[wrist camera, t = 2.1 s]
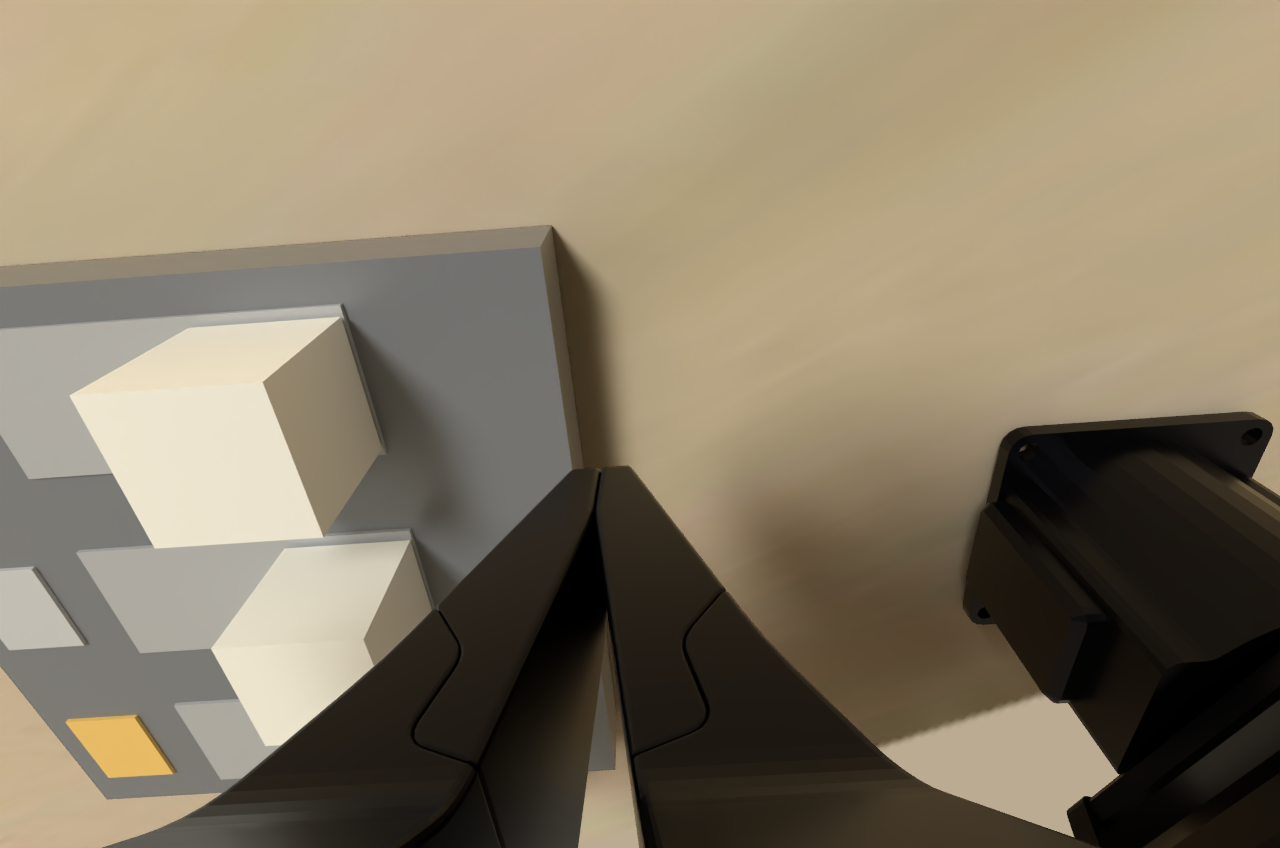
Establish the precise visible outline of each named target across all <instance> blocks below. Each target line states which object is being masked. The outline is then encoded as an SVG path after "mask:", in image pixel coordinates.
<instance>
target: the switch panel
mask: <svg viewBox="0 0 1280 848" xmlns="http://www.w3.org/2000/svg"><path fill="white" fill-rule="evenodd" d="M330 317H341V318H342V321H343V325H344V328H345V331H346V334H347V338H348V341H349V344H350V347H351V350H352V354H353V357H354V360H355V363H356V367H357V370H358V373H359V376H360V380H361V383H362V386H363V389H364V392H365V396H366V399H367V402H368V405H369V409H370V412H371V415H372V418H373V422H374V425H375V428H376V431H377V434H378V438H379V441H380V444H381V447H382V450H381V452H380V453H379V455H378V456H377V458H376V459H375V461H374V462H373V464H372V465H371V467H370V468H369V470H368V471H367V473H366V474H365V476H364V477H363V479H362V480H361V482H360V483H359V485H358V486H357V488H356V489H355V491H354V492H353V494H352V495H351V497H350V498H349V500H348V501H347V503H346V504H345V506H344V507H343V509H342V510H341V512H340V513H339V515H338V516H337V518H336V519H335V521H334V523H333V524H332V526H331V527H330V529H329V530H328V532H327V533H326V535H325V536H324V538H309V539H294V540H279V541H264V542H249V543H234V544H219V545H204V546H188V547H173V548H158V549H155V548H154V546H153V544H152V543H151V541H150V539H149V537H148V536H147V534H146V532H145V530H144V528H143V527H142V525H141V523H140V521H139V519H138V518H137V516H136V514H135V512H134V511H133V509H132V507H131V505H130V503H129V502H128V500H127V498H126V496H125V494H124V493H123V491H122V489H121V487H120V486H119V484H118V482H117V480H116V478H115V477H114V475H113V473H112V471H111V469H110V468H109V466H108V464H107V462H106V461H105V459H104V457H103V455H102V453H101V452H100V450H99V448H98V446H97V444H96V443H95V441H94V439H93V437H92V436H91V434H90V432H89V430H88V428H87V427H86V425H85V423H84V421H83V419H82V418H81V416H80V414H79V412H78V411H77V409H76V407H75V405H74V403H73V402H72V400H71V398H70V395H71V394H73V393H75V392H77V391H78V390H80V389H82V388H84V387H85V386H87V385H89V384H91V383H92V382H94V381H96V380H98V379H99V378H101V377H103V376H105V375H107V374H108V373H110V372H112V371H114V370H115V369H117V368H119V367H121V366H122V365H124V364H126V363H128V362H129V361H131V360H133V359H135V358H136V357H138V356H140V355H142V354H144V353H145V352H147V351H149V350H151V349H152V348H154V347H156V346H158V345H159V344H161V343H163V342H165V341H166V340H168V339H170V338H172V337H173V336H175V335H177V334H179V333H180V332H182V331H184V330H186V329H188V328H193V327H207V326H221V325H234V324H248V323H262V322H276V321H289V320H303V319H317V318H330ZM582 468H584V465H583V458H582V450H581V443H580V435H579V428H578V420H577V413H576V405H575V398H574V390H573V383H572V375H571V368H570V360H569V353H568V345H567V338H566V330H565V323H564V315H563V308H562V300H561V293H560V285H559V278H558V270H557V263H556V255H555V248H554V240H553V233H552V225H547V226H534V227H520V228H507V229H494V230H481V231H467V232H454V233H441V234H427V235H414V236H401V237H388V238H374V239H361V240H348V241H334V242H321V243H308V244H295V245H281V246H268V247H255V248H241V249H228V250H215V251H202V252H188V253H175V254H162V255H148V256H135V257H122V258H109V259H95V260H82V261H69V262H55V263H42V264H29V265H16V266H2V267H0V666H1V668H2V669H3V670H4V671H5V673H6V674H7V675H8V676H9V678H10V679H11V680H12V681H13V683H14V684H15V685H16V686H17V688H18V689H19V690H20V691H21V693H22V694H23V695H24V696H25V698H26V699H27V700H28V701H29V703H30V704H31V705H32V706H33V708H34V709H35V710H36V711H37V713H38V714H39V715H40V716H41V718H42V719H43V720H44V721H45V723H46V724H47V725H48V726H49V728H50V729H51V730H52V731H53V733H54V734H55V735H56V736H57V738H58V739H59V740H60V741H61V743H62V744H63V745H64V746H65V748H66V749H67V750H68V751H69V753H70V754H71V755H72V756H73V758H74V759H75V760H76V761H77V763H78V764H79V765H80V766H81V768H82V769H83V770H84V771H85V773H86V774H87V775H88V776H89V778H90V779H91V780H92V781H93V783H94V784H95V785H96V786H97V788H98V789H99V790H100V791H101V793H102V794H103V795H104V796H105V798H106V799H122V798H139V797H156V796H173V795H191V794H208V793H224V792H225V791H226V790H227V789H229V788H230V787H231V786H232V785H234V784H235V783H236V782H238V781H239V780H240V779H241V778H243V777H244V776H245V775H246V774H248V773H249V772H250V771H251V770H252V769H253V768H255V767H256V766H257V765H258V764H259V763H261V762H262V761H263V760H264V759H265V758H267V757H268V756H269V755H270V754H271V753H272V752H274V751H275V750H276V749H277V748H278V747H280V746H281V745H277V746H265V745H264V743H263V741H262V739H261V737H260V736H259V734H258V732H257V730H256V728H255V727H254V725H253V723H252V721H251V720H250V718H249V716H248V714H247V712H246V711H245V709H244V707H243V705H242V703H241V702H240V700H239V698H238V696H237V694H236V693H235V691H234V689H233V687H232V686H231V684H230V682H229V680H228V678H227V677H226V675H225V673H224V671H223V669H222V668H221V666H220V664H219V662H218V661H217V659H216V657H215V655H214V653H213V652H212V650H211V648H212V647H213V646H214V644H215V643H216V641H217V640H218V639H219V637H220V636H221V635H222V633H223V632H224V630H225V629H226V628H227V626H228V625H229V624H230V622H231V621H232V620H233V618H234V617H235V615H236V614H237V613H238V611H239V610H240V609H241V607H242V606H243V604H244V603H245V602H246V600H247V599H248V598H249V596H250V595H251V594H252V592H253V591H254V589H255V588H256V587H257V585H258V584H259V583H260V581H261V580H262V578H263V577H264V576H265V574H266V573H267V572H268V570H269V569H270V568H271V566H272V565H273V563H274V562H275V561H276V559H277V558H278V557H279V555H280V554H281V552H282V551H283V550H284V548H299V547H314V546H329V545H345V544H360V543H375V542H390V541H405V540H410V541H411V544H412V548H413V551H414V554H415V557H416V560H417V564H418V567H419V570H420V573H421V577H422V580H423V583H424V586H425V590H426V593H427V596H428V599H429V602H430V606H431V609H432V610H434V609H436V610H437V605H438V604H439V603H440V602H441V601H442V600H443V599H444V598H445V597H446V596H447V595H448V594H449V593H450V592H451V591H452V590H453V589H454V588H455V587H456V586H457V585H458V584H459V583H460V582H461V581H462V580H463V579H464V578H465V577H466V576H467V575H468V574H469V573H470V572H471V571H472V570H473V569H474V568H475V567H476V566H477V565H478V564H479V563H480V562H481V561H482V560H483V559H484V558H485V557H486V556H487V555H488V554H489V553H490V552H491V551H492V550H493V549H494V548H495V547H496V546H497V545H498V544H499V542H500V541H501V540H502V539H503V538H504V537H505V536H506V535H507V534H508V533H509V532H510V531H511V530H512V529H513V528H514V527H515V526H516V525H517V524H518V523H519V522H520V521H521V520H522V519H523V518H524V517H525V516H526V515H527V514H528V513H529V512H530V511H531V510H532V509H533V508H534V507H535V506H536V505H537V504H538V503H539V502H540V501H541V500H542V499H543V498H544V497H545V496H546V495H547V494H548V493H549V492H550V491H551V490H552V489H553V488H554V487H555V486H556V485H557V484H558V483H559V482H560V481H561V480H562V479H563V478H564V477H565V476H566V475H567V474H568V473H569V472H570V471H571V470H573V469H582ZM615 764H616V705H615V698H614V690H613V683H612V675H611V668H610V660H609V653H608V645H607V638H605V646H604V653H603V661H602V668H601V676H600V683H599V691H598V699H597V706H596V714H595V721H594V729H593V736H592V744H591V751H590V759H589V767H588V771H600V770H615Z"/></svg>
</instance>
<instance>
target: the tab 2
mask: <svg viewBox="0 0 1280 848" xmlns="http://www.w3.org/2000/svg"><path fill="white" fill-rule="evenodd" d="M431 611H432V609H431V606H430V602H429V599H428V596H427V593H426V590H425V586H424V583H423V580H422V577H421V573H420V570H419V567H418V564H417V560H416V557H415V554H414V551H413V548H412V544H411V541H410V540H405V541H390V542H375V543H360V544H345V545H329V546H314V547H299V548H284V550H283V551H282V552H281V554H280V555H279V557H278V558H277V559H276V561H275V562H274V563H273V565H272V566H271V568H270V569H269V570H268V572H267V573H266V574H265V576H264V577H263V578H262V580H261V581H260V583H259V584H258V585H257V587H256V588H255V589H254V591H253V592H252V594H251V595H250V596H249V598H248V599H247V600H246V602H245V603H244V604H243V606H242V607H241V609H240V610H239V611H238V613H237V614H236V615H235V617H234V618H233V620H232V621H231V622H230V624H229V625H228V626H227V628H226V629H225V630H224V632H223V633H222V635H221V636H220V637H219V639H218V640H217V641H216V643H215V644H214V646H213V647H212V648H211V650H212V652H213V653H214V655H215V657H216V659H217V661H218V662H219V664H220V666H221V668H222V669H223V671H224V673H225V675H226V677H227V678H228V680H229V682H230V684H231V686H232V687H233V689H234V691H235V693H236V694H237V696H238V698H239V700H240V702H241V703H242V705H243V707H244V709H245V711H246V712H247V714H248V716H249V718H250V720H251V721H252V723H253V725H254V727H255V728H256V730H257V732H258V734H259V736H260V737H261V739H262V741H263V743H264V745H265V746H277V745H282V744H283V743H284V742H286V741H287V740H288V739H289V738H290V737H292V736H293V735H294V734H295V733H296V732H297V731H299V730H300V729H301V728H302V727H303V726H305V725H306V724H307V723H308V722H309V721H311V720H312V719H313V718H314V717H315V716H316V715H318V714H319V713H320V712H321V711H322V710H324V709H325V708H326V707H327V706H328V705H330V704H331V703H332V702H333V701H334V700H336V699H337V698H338V697H339V696H340V695H341V694H343V693H344V692H345V691H346V690H347V689H348V688H350V687H351V686H352V685H353V684H354V683H355V682H356V681H358V680H359V679H360V678H361V677H362V676H363V675H364V674H366V673H367V672H368V671H369V670H370V669H371V668H372V667H374V666H375V665H376V664H377V663H378V662H379V661H380V660H382V659H383V658H384V657H385V656H386V655H387V654H388V653H389V652H390V651H391V650H392V649H393V648H394V647H395V646H396V645H397V644H398V643H399V642H400V641H401V640H403V639H404V638H405V637H406V636H407V635H408V634H409V633H410V632H411V631H412V630H413V629H414V628H415V627H416V626H417V625H418V624H419V623H420V622H421V621H422V620H423V619H424V618H425V617H426V616H427V615H428V614H429V613H430V612H431Z"/></svg>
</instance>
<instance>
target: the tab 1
mask: <svg viewBox="0 0 1280 848" xmlns="http://www.w3.org/2000/svg"><path fill="white" fill-rule="evenodd" d="M70 398H71V400H72V402H73V403H74V405H75V407H76V409H77V411H78V412H79V414H80V416H81V418H82V419H83V421H84V423H85V425H86V427H87V428H88V430H89V432H90V434H91V436H92V437H93V439H94V441H95V443H96V444H97V446H98V448H99V450H100V452H101V453H102V455H103V457H104V459H105V461H106V462H107V464H108V466H109V468H110V469H111V471H112V473H113V475H114V477H115V478H116V480H117V482H118V484H119V486H120V487H121V489H122V491H123V493H124V494H125V496H126V498H127V500H128V502H129V503H130V505H131V507H132V509H133V511H134V512H135V514H136V516H137V518H138V519H139V521H140V523H141V525H142V527H143V528H144V530H145V532H146V534H147V536H148V537H149V539H150V541H151V543H152V544H153V546H154V548H155V549H158V548H173V547H188V546H204V545H219V544H234V543H249V542H264V541H279V540H294V539H309V538H324V536H325V535H326V533H327V532H328V530H329V529H330V527H331V526H332V524H333V523H334V521H335V519H336V518H337V516H338V515H339V513H340V512H341V510H342V509H343V507H344V506H345V504H346V503H347V501H348V500H349V498H350V497H351V495H352V494H353V492H354V491H355V489H356V488H357V486H358V485H359V483H360V482H361V480H362V479H363V477H364V476H365V474H366V473H367V471H368V470H369V468H370V467H371V465H372V464H373V462H374V461H375V459H376V458H377V456H378V455H379V453H380V452H381V450H382V447H381V444H380V441H379V438H378V434H377V431H376V428H375V425H374V422H373V418H372V415H371V412H370V409H369V405H368V402H367V399H366V396H365V392H364V389H363V386H362V383H361V380H360V376H359V373H358V370H357V367H356V363H355V360H354V357H353V354H352V350H351V347H350V344H349V341H348V338H347V334H346V331H345V328H344V325H343V321H342V318H341V317H330V318H317V319H303V320H289V321H276V322H262V323H248V324H234V325H221V326H207V327H193V328H188V329H186V330H184V331H182V332H180V333H179V334H177V335H175V336H173V337H172V338H170V339H168V340H166V341H165V342H163V343H161V344H159V345H158V346H156V347H154V348H152V349H151V350H149V351H147V352H145V353H144V354H142V355H140V356H138V357H136V358H135V359H133V360H131V361H129V362H128V363H126V364H124V365H122V366H121V367H119V368H117V369H115V370H114V371H112V372H110V373H108V374H107V375H105V376H103V377H101V378H99V379H98V380H96V381H94V382H92V383H91V384H89V385H87V386H85V387H84V388H82V389H80V390H78V391H77V392H75V393H73V394H71V395H70Z"/></svg>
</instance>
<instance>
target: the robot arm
mask: <svg viewBox="0 0 1280 848" xmlns="http://www.w3.org/2000/svg"><path fill="white" fill-rule="evenodd" d="M1272 433H1273V426H1272V423H1270V422H1269V421H1267V420H1266V419H1264V418H1262V417H1260V416H1258V415H1256V414H1255V413H1253V412H1233V413H1218V414H1204V415H1189V416H1174V417H1160V418H1145V419H1130V420H1116V421H1101V422H1086V423H1072V424H1057V425H1042V426H1028V427H1021V428H1017V429H1015V430H1013V431H1011V432H1010V433H1008V434H1007V435H1006V437H1005V438H1004V439H1003V441H1002V443H1001V445H1000V449H999V454H998V458H997V462H996V466H995V470H994V475H993V479H992V483H991V487H990V492H989V496H988V500H987V504H986V506H985V507H984V509H983V510H982V512H981V516H980V520H979V524H978V529H977V533H976V537H975V541H974V546H973V550H972V554H971V558H970V563H969V567H968V571H967V576H966V579H967V582H968V584H967V589H966V593H965V597H964V601H963V609H964V610H965V612H966V613H967V615H968V616H969V618H970V619H971V621H972V622H974V623H976V624H982V625H985V624H996V625H997V626H998V628H999V629H1000V631H1001V632H1002V634H1003V635H1004V637H1005V638H1006V640H1007V641H1008V643H1009V644H1010V646H1011V647H1012V648H1013V650H1014V651H1015V653H1016V654H1017V656H1018V657H1019V659H1020V660H1021V662H1022V663H1023V665H1024V666H1025V668H1026V669H1027V671H1028V672H1029V674H1030V675H1031V677H1032V678H1033V680H1034V681H1035V683H1036V684H1037V686H1038V687H1039V689H1040V690H1041V692H1042V693H1043V694H1044V695H1045V696H1046V697H1048V698H1049V699H1050V700H1051V701H1052V702H1054V703H1068V704H1069V705H1070V706H1071V708H1072V709H1073V711H1074V712H1075V714H1076V715H1077V716H1078V718H1079V719H1080V721H1081V722H1082V723H1083V725H1084V726H1085V728H1086V729H1087V730H1088V732H1089V733H1090V735H1091V736H1092V738H1093V739H1094V740H1095V742H1096V743H1097V745H1098V746H1099V748H1100V749H1101V750H1102V752H1103V753H1104V754H1105V756H1106V757H1107V759H1108V760H1109V762H1110V763H1111V765H1112V766H1113V767H1114V769H1115V770H1116V772H1117V773H1118V774H1119V776H1118V777H1117V778H1115V779H1114V780H1113V781H1112V782H1110V783H1109V784H1108V785H1107V786H1105V787H1104V788H1103V789H1102V790H1100V791H1099V792H1098V793H1097V794H1095V795H1094V796H1093V797H1088V796H1084V797H1083V798H1082V799H1080V800H1079V801H1078V802H1077V803H1076V804H1074V805H1073V806H1072V807H1071V808H1069V809H1068V810H1067V815H1068V819H1069V822H1070V825H1071V828H1072V831H1073V834H1074V837H1075V838H1074V837H1071V836H1068V835H1065V834H1062V833H1060V832H1057V831H1054V830H1051V829H1048V828H1045V827H1042V826H1040V825H1037V824H1033V823H1031V822H1028V821H1025V820H1022V819H1020V818H1017V817H1014V816H1011V815H1008V814H1005V813H1003V812H1000V811H997V810H994V809H991V808H988V807H985V806H983V805H980V804H977V803H974V802H971V801H968V800H966V799H963V798H960V797H957V796H954V795H951V794H948V793H946V792H943V791H941V790H938V789H936V788H933V787H931V786H929V785H928V784H926V783H924V782H922V781H920V780H918V779H917V778H915V777H914V776H912V775H911V774H909V773H908V772H906V771H905V770H903V769H902V768H901V767H899V766H898V765H897V764H896V763H894V762H893V761H892V760H890V759H889V758H888V757H887V756H886V755H885V754H883V753H882V752H881V751H880V750H879V749H878V748H877V747H876V746H875V745H874V744H873V743H871V742H870V741H869V740H868V739H867V738H866V737H865V736H864V735H863V734H862V733H861V732H860V731H859V730H858V729H857V728H856V727H855V726H854V725H853V724H852V723H851V722H850V721H849V720H848V719H847V718H846V717H845V716H844V715H843V714H842V713H841V712H840V711H839V710H838V709H836V708H835V707H834V706H833V705H832V704H831V703H830V702H829V701H828V700H827V699H826V698H825V697H824V696H823V695H822V694H821V693H820V692H819V691H818V690H817V689H816V688H815V687H814V686H813V685H812V684H811V683H810V682H809V681H808V680H807V679H806V678H805V677H804V676H803V675H802V674H800V673H799V672H798V671H797V670H796V669H795V668H794V667H793V666H792V665H791V664H790V663H789V662H788V661H787V659H786V658H785V657H784V656H783V655H782V654H781V653H780V652H779V651H778V650H777V649H776V648H775V647H774V646H773V645H772V644H771V643H770V642H769V641H768V640H767V639H766V638H765V637H764V636H763V634H762V633H761V632H760V631H759V630H758V628H757V627H756V626H755V625H754V624H753V623H752V621H751V620H750V619H749V618H748V617H747V615H746V614H745V613H744V612H743V611H742V609H741V608H740V607H739V605H738V604H737V603H736V602H735V600H734V599H733V598H732V596H731V595H730V594H729V593H728V592H726V590H725V588H724V586H723V585H722V584H721V583H720V581H719V580H718V579H717V577H716V576H715V575H714V574H713V572H712V571H711V570H710V568H709V567H708V566H707V564H706V563H705V562H704V561H703V559H702V558H701V557H700V555H699V554H698V553H697V552H696V550H695V549H694V548H693V546H692V545H691V544H690V543H689V541H688V540H687V539H686V537H685V536H684V535H683V533H682V532H681V531H680V530H679V528H678V527H677V526H676V524H675V523H674V522H673V521H672V519H671V518H670V517H669V515H668V514H667V513H666V512H665V510H664V509H663V508H662V506H661V505H660V504H659V502H658V501H657V500H656V499H655V497H654V496H653V495H652V493H651V492H650V491H649V490H648V488H647V487H646V486H645V484H644V483H643V482H642V481H641V479H640V478H639V477H638V475H637V474H636V473H635V472H634V470H633V469H632V468H631V467H630V466H612V467H604V468H603V469H602V471H600V469H598V468H582V469H573V470H571V471H570V472H569V473H568V474H567V475H566V476H565V477H564V478H563V479H562V480H561V481H560V482H559V483H558V484H557V485H556V486H555V487H554V488H553V489H552V490H551V491H550V492H549V493H548V494H547V495H546V496H545V497H544V498H543V499H542V500H541V501H540V502H539V503H538V504H537V505H536V506H535V507H534V508H533V509H532V510H531V511H530V512H529V513H528V514H527V515H526V516H525V517H524V518H523V519H522V520H521V521H520V522H519V523H518V524H517V525H516V526H515V527H514V528H513V529H512V530H511V531H510V532H509V533H508V534H507V535H506V536H505V537H504V538H503V539H502V540H501V541H500V542H499V544H498V545H497V546H496V547H495V548H494V549H493V550H492V551H491V552H490V553H489V554H488V555H487V556H486V557H485V558H484V559H483V560H482V561H481V562H480V563H479V564H478V565H477V566H476V567H475V568H474V569H473V570H472V571H471V572H470V573H469V574H468V575H467V576H466V577H465V578H464V579H463V580H462V581H461V582H460V583H459V584H458V585H457V586H456V587H455V588H454V589H453V590H452V591H451V592H450V593H449V594H448V595H447V596H446V597H445V598H444V599H443V600H442V601H441V602H440V603H439V604H438V605H437V610H436V609H434V610H432V611H431V612H430V613H429V614H428V615H427V616H426V617H425V618H424V619H423V620H422V621H421V622H420V623H419V624H418V625H417V626H416V627H415V628H414V629H413V630H412V631H411V632H410V633H409V634H408V635H407V636H406V637H405V638H404V639H403V640H401V641H400V642H399V643H398V644H397V645H396V646H395V647H394V648H393V649H392V650H391V651H390V652H389V653H388V654H387V655H386V656H385V657H384V658H383V659H382V660H380V661H379V662H378V663H377V664H376V665H375V666H374V667H372V668H371V669H370V670H369V671H368V672H367V673H366V674H364V675H363V676H362V677H361V678H360V679H359V680H358V681H356V682H355V683H354V684H353V685H352V686H351V687H350V688H348V689H347V690H346V691H345V692H344V693H343V694H341V695H340V696H339V697H338V698H337V699H336V700H334V701H333V702H332V703H331V704H330V705H328V706H327V707H326V708H325V709H324V710H322V711H321V712H320V713H319V714H318V715H316V716H315V717H314V718H313V719H312V720H311V721H309V722H308V723H307V724H306V725H305V726H303V727H302V728H301V729H300V730H299V731H297V732H296V733H295V734H294V735H293V736H292V737H290V738H289V739H288V740H287V741H286V742H284V743H283V744H282V745H281V746H280V747H278V748H277V749H276V750H275V751H274V752H272V753H271V754H270V755H269V756H268V757H267V758H265V759H264V760H263V761H262V762H261V763H259V764H258V765H257V766H256V767H255V768H253V769H252V770H251V771H250V772H249V773H248V774H246V775H245V776H244V777H243V778H241V779H240V780H239V781H238V782H236V783H235V784H234V785H232V786H231V787H230V788H229V789H227V790H226V791H225V792H224V793H222V794H221V795H219V796H218V797H216V798H215V799H213V800H212V801H210V802H209V803H207V804H206V805H204V806H203V807H201V808H199V809H197V810H196V811H194V812H192V813H190V814H188V815H187V816H185V817H183V818H181V819H179V820H177V821H175V822H172V823H170V824H168V825H166V826H164V827H161V828H159V829H157V830H154V831H151V832H148V833H146V834H143V835H140V836H137V837H134V838H131V839H128V840H125V841H122V842H118V843H115V844H112V845H109V846H106V847H103V848H578V842H579V835H580V827H581V820H582V812H583V804H584V797H585V789H586V782H587V774H588V767H589V759H590V751H591V744H592V736H593V729H594V721H595V714H596V706H597V699H598V691H599V683H600V676H601V668H602V661H603V653H604V646H605V638H606V628H607V615H608V622H609V630H610V638H611V645H612V652H613V660H614V667H615V674H616V682H617V689H618V696H619V703H620V711H621V718H622V725H623V733H624V740H625V747H626V755H627V762H628V769H629V776H630V784H631V791H632V798H633V806H634V813H635V820H636V827H637V835H638V841H639V848H1280V496H1279V495H1277V494H1276V493H1274V492H1273V491H1271V490H1270V489H1268V488H1266V487H1265V486H1263V485H1262V484H1260V483H1259V482H1257V481H1255V480H1254V479H1252V476H1253V474H1254V472H1255V470H1256V468H1257V466H1258V464H1259V462H1260V459H1261V457H1262V455H1263V453H1264V451H1265V449H1266V447H1267V445H1268V442H1269V440H1270V438H1271V436H1272ZM1029 443H1030V445H1029V446H1028V448H1027V449H1025V450H1024V451H1021V452H1019V451H1020V449H1021V448H1022V447H1023V446H1024V445H1026V444H1029Z"/></svg>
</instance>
